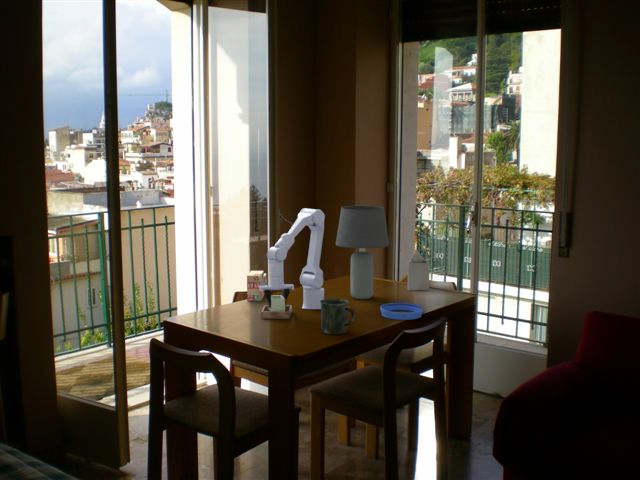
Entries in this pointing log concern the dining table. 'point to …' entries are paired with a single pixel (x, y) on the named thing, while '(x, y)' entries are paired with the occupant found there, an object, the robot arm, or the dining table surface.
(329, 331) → the mug
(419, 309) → the bowl
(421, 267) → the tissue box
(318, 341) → the dining table surface
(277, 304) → the box
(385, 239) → the lamp
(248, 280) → the stack of blocks
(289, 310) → the big crate
